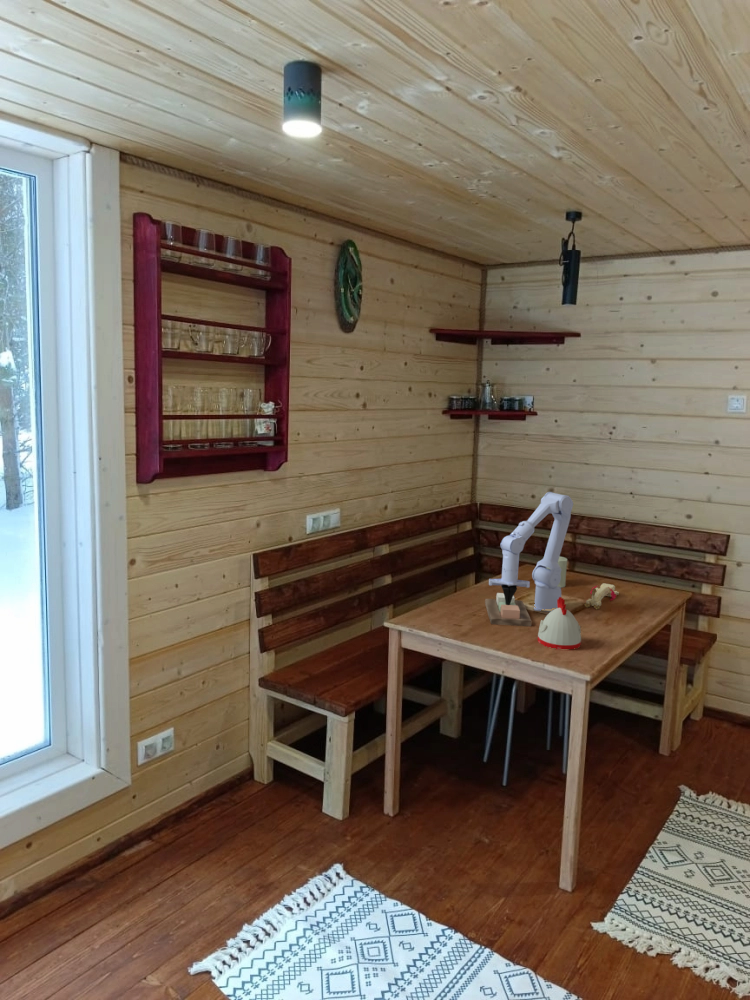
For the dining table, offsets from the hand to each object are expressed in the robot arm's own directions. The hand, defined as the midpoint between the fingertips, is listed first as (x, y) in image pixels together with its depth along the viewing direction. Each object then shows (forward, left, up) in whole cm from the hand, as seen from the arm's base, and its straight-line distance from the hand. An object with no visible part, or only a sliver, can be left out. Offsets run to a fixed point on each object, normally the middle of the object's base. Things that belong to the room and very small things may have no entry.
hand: (507, 605), depth 275 cm
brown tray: (0, 0, -4) cm, 4 cm away
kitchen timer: (-14, +27, -4) cm, 31 cm away
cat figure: (-40, -25, -4) cm, 47 cm away
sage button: (0, 0, -3) cm, 3 cm away
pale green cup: (-25, -45, -4) cm, 52 cm away
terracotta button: (0, +7, -2) cm, 8 cm away
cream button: (0, -7, -2) cm, 8 cm away
